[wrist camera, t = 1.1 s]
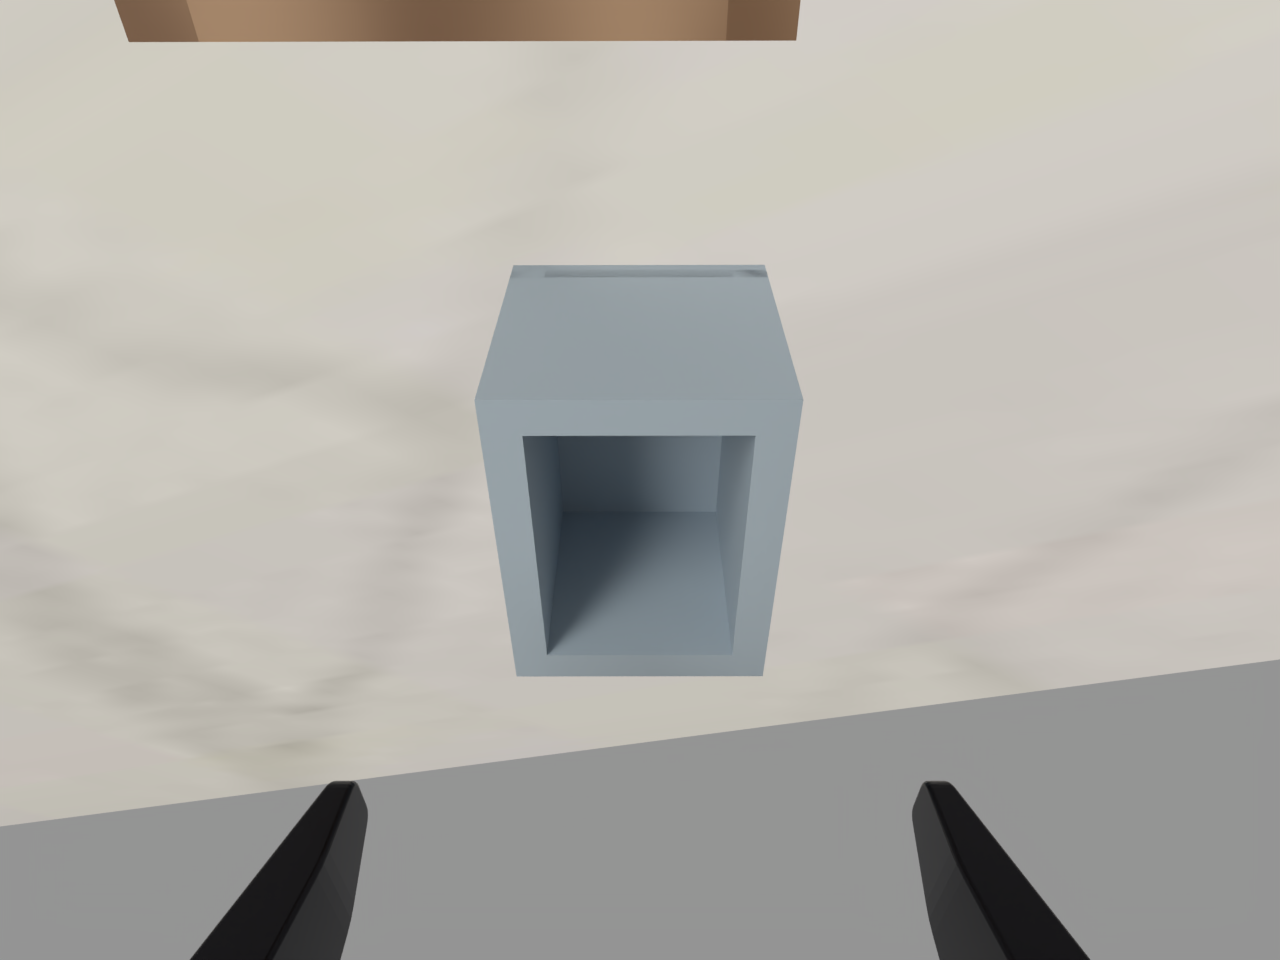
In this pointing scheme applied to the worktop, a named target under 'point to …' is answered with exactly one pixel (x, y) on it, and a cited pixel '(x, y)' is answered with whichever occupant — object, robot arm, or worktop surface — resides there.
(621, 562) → the box
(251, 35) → the wooden tray
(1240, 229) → the worktop surface
